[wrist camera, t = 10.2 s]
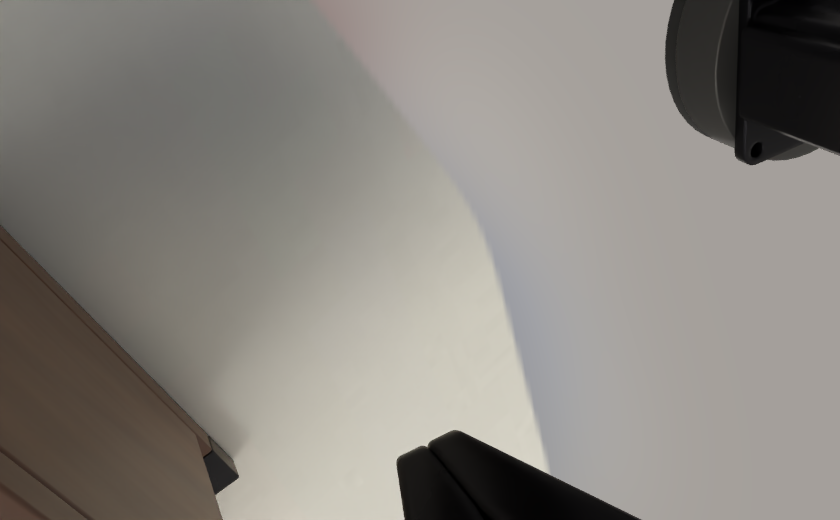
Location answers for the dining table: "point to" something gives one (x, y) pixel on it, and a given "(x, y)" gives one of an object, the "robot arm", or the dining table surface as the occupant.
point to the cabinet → (89, 417)
